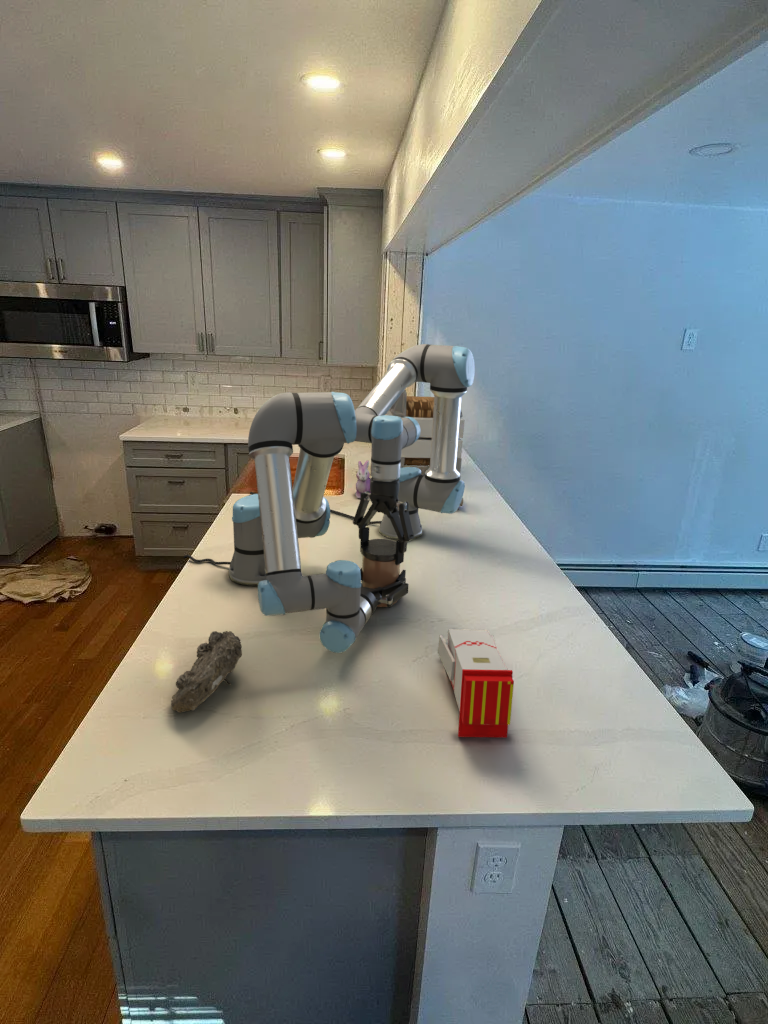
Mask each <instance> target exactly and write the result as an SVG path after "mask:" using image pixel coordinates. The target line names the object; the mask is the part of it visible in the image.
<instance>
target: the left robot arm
mask: <svg viewBox="0 0 768 1024" xmlns="http://www.w3.org/2000/svg"><path fill="white" fill-rule="evenodd" d="M355 410H356V409H355V405H354V403H353V399H352V398H351V396H350V395H349V394H347V393H346V392H337V391H325V392H323V391H319V392H317V391H315V392H289V391H288V392H280V393H277V394H276V395H274V396H273V395H272V396H271V397H270V398H268V399H267V400H266V401H265V402H264V403H263V404H262V405H261V406H260V407H259V409H258V410H257V412H256V413H255V414H254V417H253V419H252V422H251V425H250V428H249V431H248V439H247V446H248V456H249V458H251V459H252V460H253V461H254V468H255V479H256V488H257V489H256V490H257V494H253V495H251V494H249V495H246V496H243V497H241V498H239V499H238V500H236V501H235V502H234V504H233V505H232V516H231V521H232V527H233V528H232V529H233V554H232V557H231V561H215V560H213V559H212V558H203V559H196V558H194V557H193V556H192V555H190V554H185V555H184V556H183V557H182V558H183V559H187V558H188V559H190V560H191V561H192V562H194V563H205V562H210V563H211V564H213V565H217V566H219V565H221V566H222V565H227V566H229V567H228V577H229V579H230V580H231V581H232V582H234V583H236V584H238V585H242V586H249V587H250V586H252V587H253V586H254V587H255V586H256V587H257V599H258V607H259V611H260V612H261V614H262V615H264V616H265V617H267V616H269V617H270V616H279V615H281V616H282V615H283V616H285V615H286V614H293V613H294V614H295V613H300V612H306V611H316V610H324V609H325V610H326V611H325V614H326V615H325V616H326V617H325V618H326V619H325V622H324V623H323V625H322V627H321V628H320V630H319V634H318V636H319V641H320V643H321V645H322V647H324V648H325V649H326V650H327V651H329V652H332V653H334V654H341V653H344V652H346V651H347V650H349V648H350V647H352V645H353V644H354V643H355V642H356V639H357V638H358V636H359V635H360V633H361V632H362V630H363V629H364V627H365V626H366V624H367V623H368V621H369V620H370V618H371V617H372V615H373V614H374V613H375V611H376V609H377V608H378V607H377V606H378V605H380V604H381V603H385V604H387V607H386V608H391V607H393V605H394V604H393V603H394V602H396V601H397V600H400V599H402V598H403V597H405V596H406V595H407V594H409V585H410V584H409V583H407V578H406V571H407V570H406V569H402V571H400V575H399V576H398V578H397V579H396V582H395V583H393V584H390V585H387V586H385V587H377V588H375V589H374V588H368V587H363V585H362V567H361V568H360V566H359V565H358V564H357V563H356V562H353V561H352V560H347V559H338V560H335V561H332V562H329V564H327V566H326V570H325V573H318V574H309V575H303V573H302V563H301V552H300V543H299V542H300V541H299V539H307V538H311V539H312V538H316V537H322V536H324V535H325V534H326V533H327V531H329V528H330V523H331V521H330V519H331V512H330V509H331V506H330V502H329V501H328V499H327V498H326V497H325V492H326V489H327V484H328V481H329V477H330V473H331V470H332V465H333V462H334V458H335V457H336V456H338V455H339V454H340V453H341V452H342V450H343V449H344V446H345V444H348V445H349V444H350V443H354V442H356V441H355V439H356V433H357V426H356V415H355ZM293 446H298V447H299V453H298V458H297V463H296V468H295V469H296V470H295V474H294V479H293V478H292V471H291V463H290V457H291V456H292V455H293V453H294V447H293ZM292 479H293V480H292ZM397 602H398V601H397ZM397 602H396V603H397Z"/></svg>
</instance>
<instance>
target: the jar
mask: <svg viewBox="0 0 768 1024" xmlns="http://www.w3.org/2000/svg"><path fill="white" fill-rule="evenodd" d="M361 555H362V554H361ZM361 560H362V561H361V568H362V580H361V583H362V585H363V587H368V588H374V589H375V588H377V587H385V586H387V585H390V584H393V583H395V582H396V579H397V578H398V576H399V575H400V573H401V564H399V565H396V564H395V560H391V561H376V560H371V559H368V558H366V557H364V556H363V555H362V558H361ZM397 602H398V600H397V601H396V602H394V603H393V605H395V604H396V603H397ZM376 608H388V607H387V604H385V603H381V604H380V605H378V606H377V607H376Z"/></svg>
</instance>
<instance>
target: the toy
mask: <svg viewBox="0 0 768 1024" xmlns="http://www.w3.org/2000/svg"><path fill="white" fill-rule="evenodd" d="M446 640H447V643H446V641H445V639H444V636H443V635H442V634H439V637H438V646H437V656H438V657H439V659H440V661H441V663H442V666H443V668H444V670H445V672H446V674H447V677H448V679H449V681H450V684H451V687H452V690H453V693H454V697H455V701H456V705H457V708H458V711H459V714H458V715H459V716H458V730H457V731H458V732H457V737H458V738H508V731H509V726H510V725H511V717H512V707H513V697H514V696H513V695H514V684H515V680H514V679H513V673H514V671H513V670H512V669H508V667H507V665H506V662H505V661H504V659H503V658H502V655H501V653H500V651H499V649H498V647H497V643H496V639H495V637H494V635H493V634H491V632H490V631H489V629H467V628H466V629H465V628H463V629H461V628H460V629H459V628H448V630H447V639H446Z"/></svg>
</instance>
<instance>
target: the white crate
mask: <svg viewBox="0 0 768 1024" xmlns="http://www.w3.org/2000/svg"><path fill="white" fill-rule="evenodd" d="M407 394H408V393H407V390H406V389H405V390H404V391H403V393H402V394H401V395H400V397H399V398H398V399H397V401H396V402H395V403H394V404H393V406H392V407H391V408H390V410H389V411H388V412H387V414H386V415H391V416H397V417H400V418H401V417H411V418H414V419H415V420H416V421H417V422H418V423H419V426H420V431H421V432H420V436H419V438H418V440H417V441H416V442H414V443H413V444H412V445H410V446H408V447H405V448H403V449H402V450H401V467H400V468H403V467H405V466H406V467H417V466H418V467H430V457H431V441H432V425H433V409H434V396H415V395H414V396H413V395H412V396H411V395H407ZM464 429H465V419H464V418H463V411H462V409H461V410H460V422H459V434H458V447H457V459H456V470H457V471H458V472H459V473H460V475H461V472H462V461H463V460H462V453H463V442H464V441H463V440H462V439H463V438H464V431H465V430H464Z"/></svg>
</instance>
